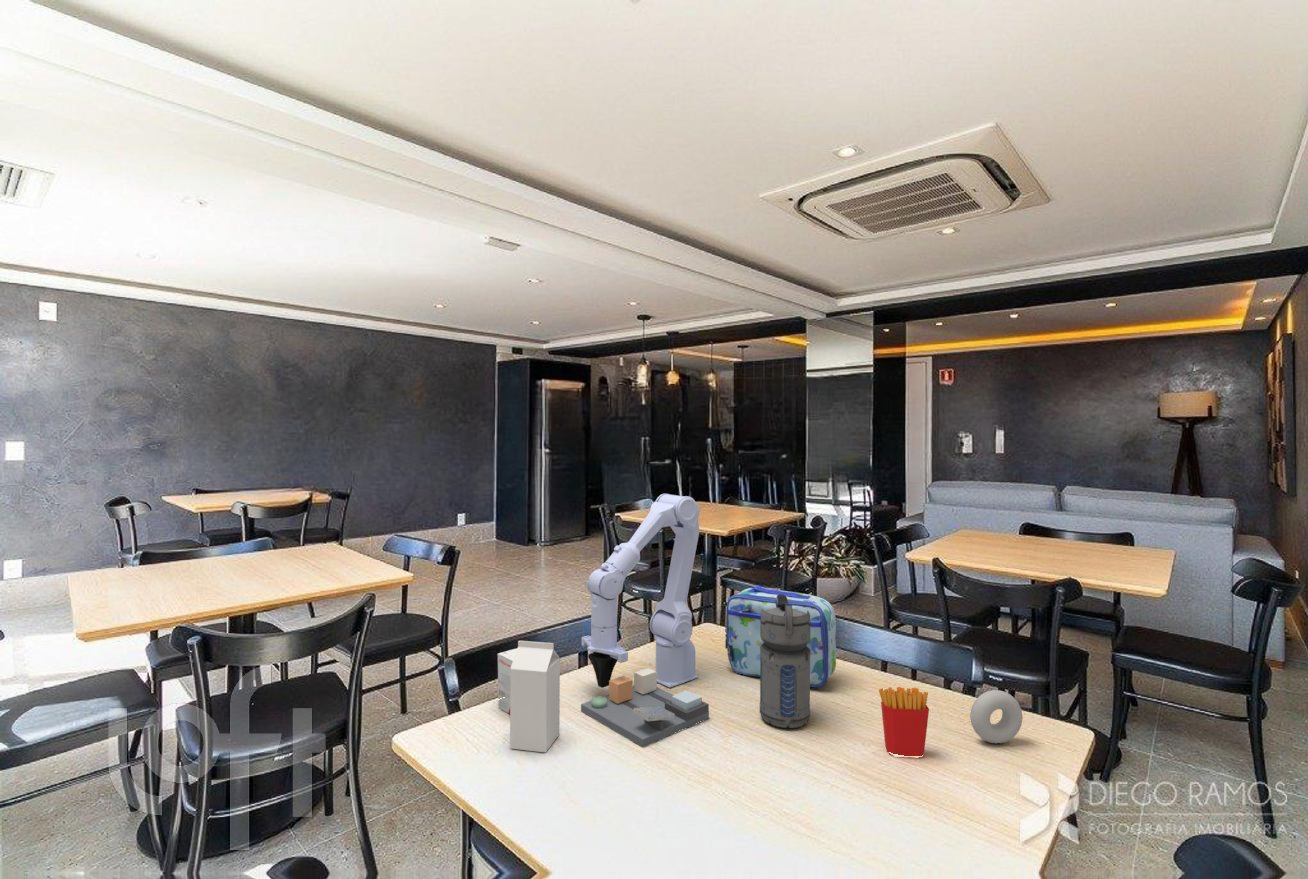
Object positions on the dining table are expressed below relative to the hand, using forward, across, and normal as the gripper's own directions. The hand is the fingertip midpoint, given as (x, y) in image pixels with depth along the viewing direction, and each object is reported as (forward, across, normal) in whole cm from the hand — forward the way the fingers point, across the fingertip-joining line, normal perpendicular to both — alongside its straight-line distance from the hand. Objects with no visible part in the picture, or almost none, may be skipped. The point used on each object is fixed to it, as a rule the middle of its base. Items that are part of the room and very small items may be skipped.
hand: (603, 685), depth 135 cm
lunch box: (+3, +18, +40) cm, 44 cm away
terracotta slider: (+1, +6, 0) cm, 6 cm away
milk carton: (+3, +7, -21) cm, 23 cm away
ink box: (+3, -7, -17) cm, 19 cm away
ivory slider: (+1, +6, +7) cm, 9 cm away
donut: (+3, +65, +45) cm, 79 cm away
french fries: (+3, +55, +28) cm, 62 cm away
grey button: (0, +19, +7) cm, 20 cm away
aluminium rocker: (-1, +20, -2) cm, 20 cm away
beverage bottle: (+3, +32, +23) cm, 39 cm away
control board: (+3, +12, +2) cm, 12 cm away
